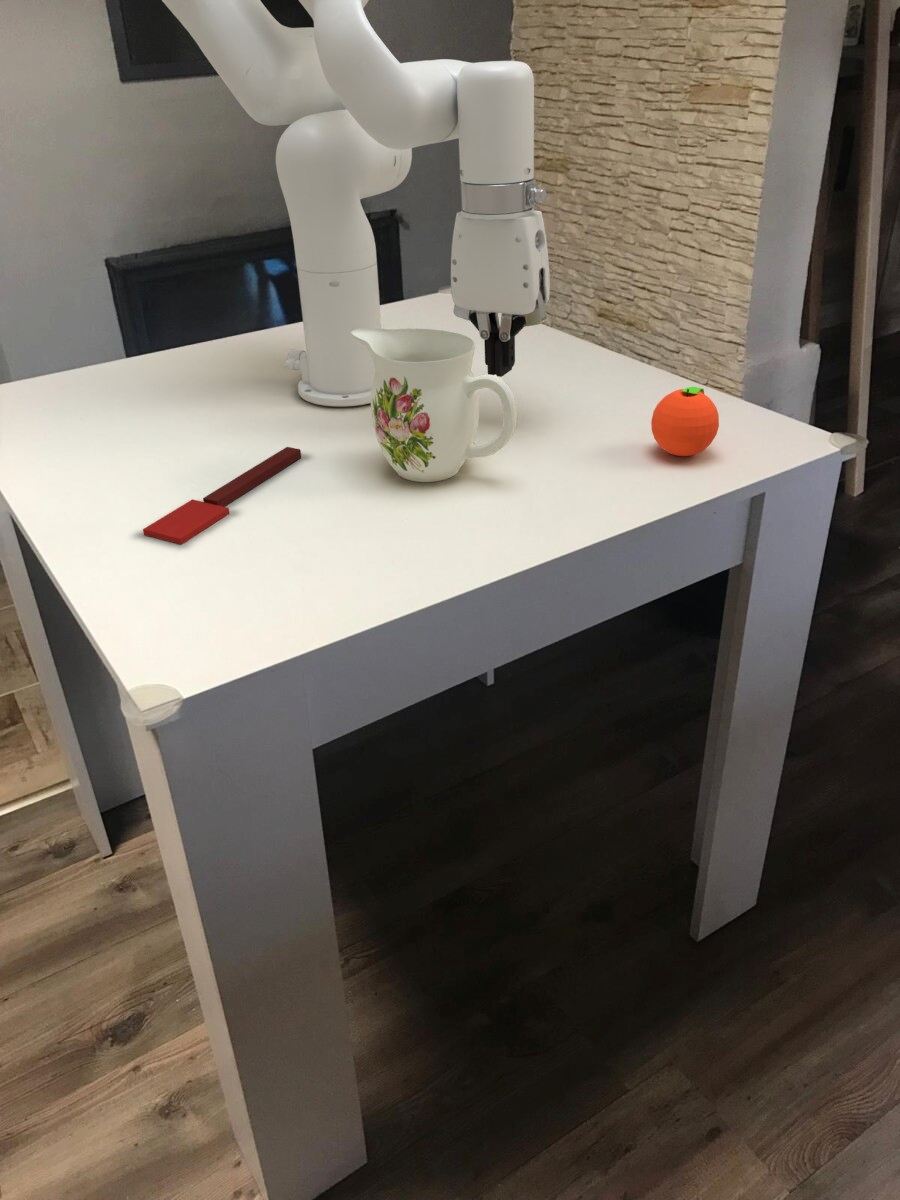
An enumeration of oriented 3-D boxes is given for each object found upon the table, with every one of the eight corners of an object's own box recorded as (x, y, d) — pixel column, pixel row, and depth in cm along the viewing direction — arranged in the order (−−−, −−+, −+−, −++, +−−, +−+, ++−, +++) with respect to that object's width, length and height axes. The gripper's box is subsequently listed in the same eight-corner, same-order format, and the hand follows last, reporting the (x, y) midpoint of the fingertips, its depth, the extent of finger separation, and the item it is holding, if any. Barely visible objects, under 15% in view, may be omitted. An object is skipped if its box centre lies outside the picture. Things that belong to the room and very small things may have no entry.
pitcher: (491, 507, 93) (490, 369, 86) (335, 476, 100) (322, 346, 93) (536, 464, 101) (538, 334, 94) (388, 438, 108) (380, 316, 101)
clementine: (669, 433, 107) (675, 371, 103) (729, 445, 104) (737, 382, 100) (637, 458, 102) (642, 393, 98) (699, 472, 98) (707, 405, 94)
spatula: (143, 534, 90) (141, 525, 90) (277, 452, 106) (276, 444, 105) (181, 544, 88) (179, 535, 88) (312, 459, 104) (311, 451, 103)
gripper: (578, 195, 98) (574, 370, 108) (450, 190, 105) (456, 356, 114) (550, 208, 93) (548, 391, 102) (416, 202, 99) (426, 375, 109)
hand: (500, 372), depth 108 cm, fingers closed
